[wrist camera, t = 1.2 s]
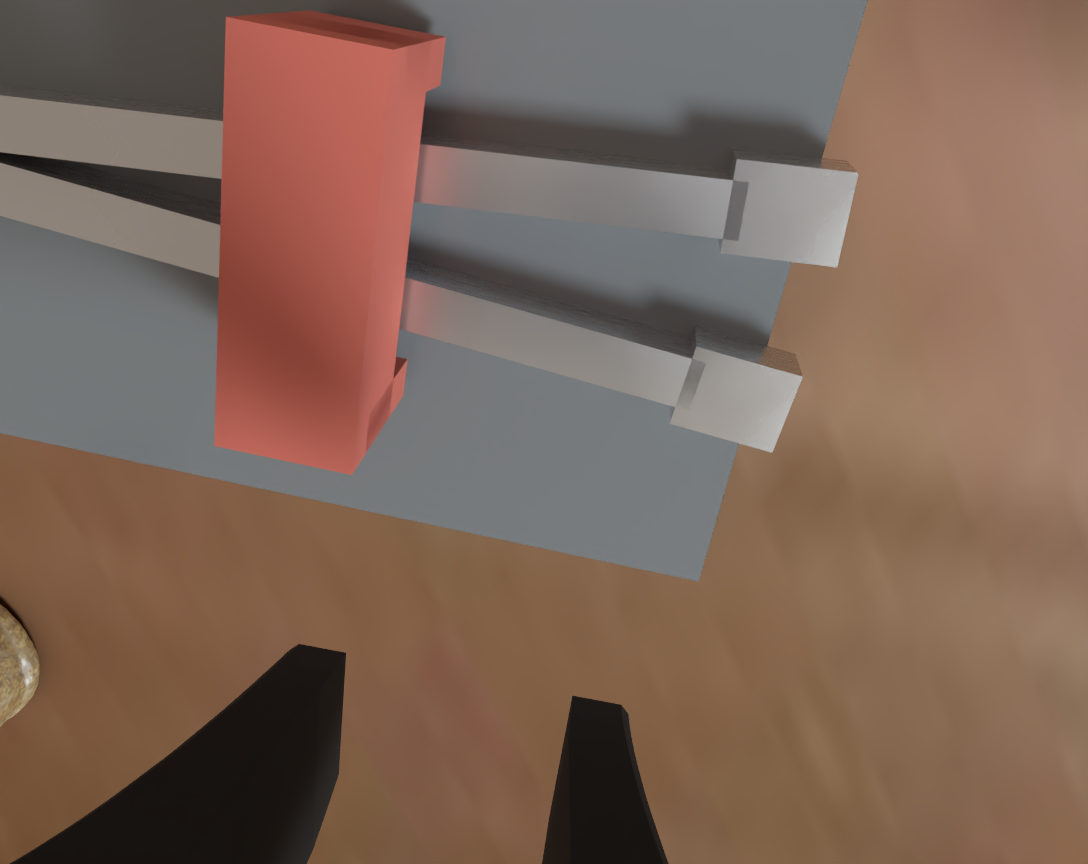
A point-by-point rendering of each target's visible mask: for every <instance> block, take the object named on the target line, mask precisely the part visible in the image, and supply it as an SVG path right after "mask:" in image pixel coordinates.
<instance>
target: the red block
mask: <svg viewBox="0 0 1088 864" xmlns="http://www.w3.org/2000/svg"><path fill="white" fill-rule="evenodd" d="M445 41H446V37H444V36H439V35H434V34H429V33H424V32H419V31H413V30H408V29H403V28H398V27H393V26H388V25H383V24H378V23H372V22H367V21H362V20H357V19H352V18H347V17H342V16H337V15H331V14H326V13H321V12H316V11H311V10H307V11H294V12H282V13H269V14H256V15H244V16H231V17H226V31H225V68H224V105H223V143H222V180H221V217H220V255H219V292H218V329H217V367H216V404H215V441H214V446H217V447H222V448H226V449H231V450H236V451H241V452H245V453H250V454H255V455H260V456H264V457H269V458H274V459H279V460H283V461H288V462H293V463H297V464H302V465H307V466H312V467H316V468H321V469H326V470H331V471H335V472H340V473H345V474H350V475H352V474H353V473H354V471H355V469H356V468H357V466H358V465H359V463H360V462H361V460H362V459H363V457H364V456H365V454H366V452H367V451H368V449H369V448H370V446H371V445H372V443H373V442H374V440H375V439H376V437H377V435H378V434H379V432H380V431H381V429H382V428H383V426H384V425H385V423H386V422H387V420H388V418H389V417H390V415H391V414H392V412H393V411H394V409H395V408H396V406H397V404H398V403H399V401H400V400H401V398H402V397H403V394H404V385H405V377H406V369H407V360H408V359H405V358H400V357H396V352H397V343H398V334H399V325H400V316H401V307H402V299H403V290H404V281H405V272H406V263H407V255H408V246H409V237H410V228H411V219H412V210H413V202H414V193H415V184H416V175H417V166H418V157H419V149H420V140H421V131H422V122H423V113H424V104H425V96H426V92H427V91H429V90H431V89H434V88H436V87H438V86H440V83H441V75H442V66H443V58H444V50H445Z"/></svg>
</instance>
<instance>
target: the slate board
mask: <svg viewBox="0 0 1088 864" xmlns="http://www.w3.org/2000/svg"><path fill="white" fill-rule="evenodd" d="M867 1H868V0H0V84H5V85H14V86H22V87H31V88H40V89H48V90H57V91H66V92H74V93H83V94H92V95H100V96H109V97H118V98H126V99H135V100H144V101H152V102H161V103H170V104H178V105H187V106H196V107H204V108H213V109H222V110H223V105H224V68H225V31H226V17H231V16H244V15H256V14H269V13H282V12H294V11H307V10H311V11H316V12H321V13H326V14H331V15H337V16H342V17H347V18H352V19H357V20H362V21H367V22H372V23H378V24H383V25H388V26H393V27H398V28H403V29H408V30H413V31H419V32H424V33H429V34H434V35H439V36H444V37H446V41H445V50H444V58H443V66H442V75H441V83H440V86H438V87H436V88H434V89H431V90H429V91H427V92H426V96H425V104H424V113H423V122H422V131H421V133H430V134H438V135H447V136H456V137H464V138H473V139H482V140H490V141H499V142H508V143H516V144H525V145H534V146H542V147H551V148H560V149H569V150H577V151H586V152H595V153H603V154H612V155H621V156H629V157H638V158H647V159H655V160H664V161H673V162H681V163H690V164H699V165H707V166H716V167H725V168H729V166H730V161H731V155H732V149H733V148H738V149H747V150H756V151H765V152H774V153H782V154H791V155H800V156H809V157H817V158H822V155H823V152H824V148H825V145H826V142H827V138H828V135H829V131H830V128H831V124H832V121H833V118H834V114H835V111H836V107H837V104H838V100H839V97H840V93H841V90H842V87H843V83H844V80H845V76H846V73H847V69H848V66H849V63H850V59H851V56H852V52H853V49H854V45H855V42H856V38H857V35H858V32H859V28H860V25H861V21H862V18H863V14H864V11H865V8H866V4H867ZM68 161H69V160H68ZM71 162H75V163H78V164H82V165H85V166H89V167H92V168H96V169H99V170H103V171H107V172H110V173H114V174H117V175H121V176H124V177H128V178H131V179H135V180H138V181H142V182H145V183H149V184H152V185H156V186H159V187H163V188H166V189H170V190H174V191H177V192H181V193H184V194H188V195H191V196H195V197H198V198H202V199H205V200H209V201H212V202H216V203H219V204H221V180H222V179H219V178H210V177H202V176H194V175H185V174H177V173H169V172H161V171H152V170H144V169H136V168H127V167H119V166H111V165H102V164H94V163H86V162H77V161H71ZM407 257H410V258H413V259H417V260H420V261H424V262H427V263H431V264H435V265H438V266H442V267H445V268H449V269H452V270H456V271H459V272H463V273H466V274H470V275H473V276H477V277H480V278H484V279H487V280H491V281H494V282H498V283H502V284H505V285H509V286H512V287H516V288H519V289H523V290H526V291H530V292H533V293H537V294H540V295H544V296H547V297H551V298H554V299H558V300H562V301H565V302H569V303H572V304H576V305H579V306H583V307H586V308H590V309H593V310H597V311H600V312H604V313H607V314H611V315H614V316H618V317H621V318H625V319H629V320H632V321H636V322H639V323H643V324H646V325H650V326H653V327H657V328H660V329H664V330H667V331H671V332H674V333H678V334H681V335H685V336H688V337H691V335H692V333H693V330H694V327H695V326H699V327H702V328H706V329H709V330H713V331H716V332H720V333H723V334H727V335H730V336H734V337H737V338H741V339H744V340H748V341H752V342H755V343H759V344H762V345H766V346H767V344H768V341H769V338H770V334H771V331H772V327H773V324H774V320H775V317H776V313H777V310H778V307H779V303H780V300H781V296H782V293H783V289H784V286H785V283H786V279H787V276H788V272H789V269H790V265H791V262H789V261H780V260H772V259H764V258H756V257H747V256H739V255H731V254H723V253H720V248H719V243H718V238H709V237H701V236H693V235H684V234H676V233H668V232H659V231H651V230H643V229H634V228H626V227H618V226H609V225H601V224H593V223H585V222H576V221H568V220H560V219H551V218H543V217H535V216H526V215H518V214H510V213H501V212H493V211H485V210H476V209H468V208H460V207H452V206H443V205H435V204H427V203H418V202H413V210H412V219H411V228H410V237H409V246H408V255H407ZM218 292H219V278H218V277H214V276H211V275H207V274H204V273H200V272H197V271H193V270H190V269H186V268H183V267H179V266H176V265H172V264H168V263H165V262H161V261H158V260H154V259H151V258H147V257H144V256H140V255H137V254H133V253H130V252H126V251H123V250H119V249H116V248H112V247H108V246H105V245H101V244H98V243H94V242H91V241H87V240H84V239H80V238H77V237H73V236H70V235H66V234H63V233H59V232H56V231H52V230H49V229H45V228H41V227H38V226H34V225H31V224H27V223H24V222H20V221H17V220H13V219H10V218H6V217H3V216H0V433H2V434H7V435H12V436H16V437H21V438H26V439H30V440H35V441H40V442H45V443H49V444H54V445H59V446H63V447H68V448H73V449H78V450H82V451H87V452H92V453H96V454H101V455H106V456H111V457H115V458H120V459H125V460H129V461H134V462H139V463H143V464H148V465H153V466H158V467H162V468H167V469H172V470H176V471H181V472H186V473H191V474H195V475H200V476H205V477H209V478H214V479H219V480H224V481H228V482H233V483H238V484H242V485H247V486H252V487H256V488H261V489H266V490H271V491H275V492H280V493H285V494H289V495H294V496H299V497H304V498H308V499H313V500H318V501H322V502H327V503H332V504H337V505H341V506H346V507H351V508H355V509H360V510H365V511H369V512H374V513H379V514H384V515H388V516H393V517H398V518H402V519H407V520H412V521H417V522H421V523H426V524H431V525H435V526H440V527H445V528H450V529H454V530H459V531H464V532H468V533H473V534H478V535H483V536H487V537H492V538H497V539H501V540H506V541H511V542H515V543H520V544H525V545H530V546H534V547H539V548H544V549H548V550H553V551H558V552H563V553H567V554H572V555H577V556H581V557H586V558H591V559H596V560H600V561H605V562H610V563H614V564H619V565H624V566H628V567H633V568H638V569H643V570H647V571H652V572H657V573H661V574H666V575H671V576H676V577H680V578H685V579H690V580H694V581H699V578H700V575H701V571H702V568H703V564H704V561H705V557H706V554H707V551H708V547H709V544H710V540H711V537H712V533H713V530H714V527H715V523H716V520H717V516H718V513H719V509H720V506H721V502H722V499H723V496H724V492H725V489H726V485H727V482H728V478H729V475H730V472H731V468H732V465H733V461H734V458H735V454H736V451H737V447H738V444H739V443H736V442H733V441H729V440H726V439H722V438H718V437H715V436H711V435H708V434H704V433H701V432H697V431H694V430H690V429H687V428H683V427H680V426H676V425H673V424H670V406H669V405H666V404H662V403H659V402H655V401H652V400H648V399H645V398H641V397H638V396H634V395H631V394H627V393H624V392H620V391H616V390H613V389H609V388H606V387H602V386H599V385H595V384H592V383H588V382H585V381H581V380H578V379H574V378H571V377H567V376H564V375H560V374H556V373H553V372H549V371H546V370H542V369H539V368H535V367H532V366H528V365H525V364H521V363H518V362H514V361H511V360H507V359H504V358H500V357H497V356H493V355H489V354H486V353H482V352H479V351H475V350H472V349H468V348H465V347H461V346H458V345H454V344H451V343H447V342H444V341H440V340H437V339H433V338H429V337H426V336H422V335H419V334H415V333H412V332H408V331H405V330H401V329H399V334H398V343H397V352H396V357H400V358H405V359H408V360H407V369H406V377H405V385H404V394H403V397H402V398H401V400H400V401H399V403H398V404H397V406H396V408H395V409H394V411H393V412H392V414H391V415H390V417H389V418H388V420H387V422H386V423H385V425H384V426H383V428H382V429H381V431H380V432H379V434H378V435H377V437H376V439H375V440H374V442H373V443H372V445H371V446H370V448H369V449H368V451H367V452H366V454H365V456H364V457H363V459H362V460H361V462H360V463H359V465H358V466H357V468H356V469H355V471H354V473H353V474H352V475H350V474H345V473H340V472H335V471H331V470H326V469H321V468H316V467H312V466H307V465H302V464H297V463H293V462H288V461H283V460H279V459H274V458H269V457H264V456H260V455H255V454H250V453H245V452H241V451H236V450H231V449H226V448H222V447H217V446H214V441H215V404H216V367H217V329H218Z"/></svg>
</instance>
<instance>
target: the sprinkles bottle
mask: <svg viewBox="0 0 1088 864" xmlns="http://www.w3.org/2000/svg"><path fill="white" fill-rule="evenodd" d="M39 664H40V662H39V659H38V655H37V651H36V649H35V648H34V646H33V642H32V641H31V640H30V638H29V637H28V635H27V633H26V631H25V629H24V628H23V627H22V626H21V624H20V623H19V622H18V621H17V620H16V619H15V618H14V617H13V616H12V615H11V614H10V612H9V611H8V610H7V609H6V608H5V607H3V606H2V605H1V604H0V726H1V725H2V724H3V723H4V722H5V721H6V720H7V719H9V718H11V717H13V716H14V715H15V714H17V713H18V712H19V711H20V710H21V709H22V708H23V707H24V706H25V705H26V704H27V702H28V701H29V700H30V699H31V698H32V696H33V695H34V692H35V690H36V688H37V685H38V682H39V679H38V677H39Z"/></svg>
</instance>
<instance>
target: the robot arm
mask: <svg viewBox="0 0 1088 864" xmlns="http://www.w3.org/2000/svg"><path fill="white" fill-rule="evenodd" d="M345 660H346V653H344V652H338V651H333V650H328V649H322V648H317V647H312V646H307V645H301V644H298V645H297V646H295V647H294V648H292V649H290V650H289V651H288V652H287V653H286V654H285V655H284V656H283V657H282V658H281V659H280V660H278V661H277V662H276V663H275V664H274V665H273V666H272V667H271V668H270V669H269V670H268V671H266V672H265V673H264V674H263V675H262V676H261V677H260V678H259V679H258V680H257V681H256V682H254V683H253V684H252V685H251V686H250V687H249V688H248V689H247V690H245V691H244V692H243V693H242V694H241V695H240V696H239V697H238V698H236V699H235V700H234V701H233V702H232V703H231V704H230V705H228V706H227V707H226V708H225V709H224V710H223V711H221V712H220V713H219V714H218V715H217V716H215V717H214V718H213V719H212V720H211V721H209V722H208V723H207V724H206V725H205V726H203V727H202V728H201V729H200V730H199V731H197V732H196V733H195V734H194V735H193V736H191V737H190V738H189V739H188V740H186V741H185V742H184V743H183V744H182V745H180V746H179V747H178V748H177V749H176V750H174V751H173V752H172V753H170V754H169V755H168V756H167V757H165V758H164V759H163V760H161V761H160V762H159V763H157V764H156V765H155V766H153V767H152V768H151V769H149V770H148V771H147V772H145V773H144V774H143V775H141V776H140V777H139V778H137V779H136V780H135V781H133V782H132V783H131V784H129V785H128V786H127V787H125V788H124V789H123V790H121V791H120V792H119V793H117V794H116V795H115V796H113V797H112V798H110V799H109V800H108V801H106V802H105V803H103V804H102V805H101V806H99V807H98V808H96V809H95V810H93V811H92V812H90V813H89V814H87V815H86V816H85V817H83V818H82V819H80V820H79V821H77V822H76V823H74V824H73V825H71V826H70V827H68V828H67V829H65V830H64V831H62V832H60V833H59V834H57V835H56V836H54V837H53V838H51V839H49V840H48V841H46V842H45V843H43V844H42V845H40V846H38V847H37V848H35V849H34V850H32V851H30V852H29V853H27V854H26V855H24V856H22V857H21V858H19V859H17V860H15V861H14V862H12V863H10V864H307V861H308V859H309V857H310V855H311V853H312V851H313V848H314V845H315V842H316V839H317V836H318V833H319V831H320V828H321V825H322V822H323V819H324V816H325V813H326V810H327V807H328V804H329V801H330V798H331V795H332V792H333V789H334V787H335V784H336V781H337V778H338V775H339V759H340V743H341V726H342V710H343V693H344V677H345ZM542 864H668V861H667V858H666V856H665V853H664V850H663V847H662V844H661V841H660V838H659V835H658V832H657V829H656V826H655V823H654V820H653V817H652V815H651V811H650V808H649V805H648V802H647V798H646V795H645V792H644V788H643V784H642V780H641V777H640V773H639V769H638V765H637V761H636V757H635V753H634V748H633V743H632V738H631V732H630V726H629V717H628V713H627V712H626V711H625V709H624V708H623V707H622V705H619V704H614V703H608V702H603V701H598V700H592V699H587V698H582V697H577V696H572V702H571V707H570V712H569V717H568V722H567V728H566V733H565V738H564V743H563V749H562V754H561V759H560V764H559V769H558V775H557V780H556V785H555V790H554V795H553V801H552V806H551V811H550V817H549V823H548V829H547V836H546V842H545V849H544V855H543V862H542Z"/></svg>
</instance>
